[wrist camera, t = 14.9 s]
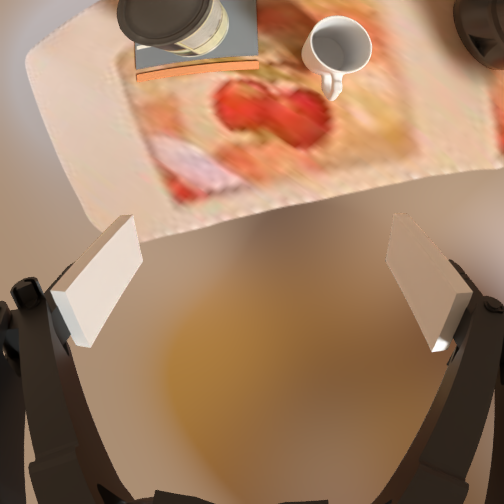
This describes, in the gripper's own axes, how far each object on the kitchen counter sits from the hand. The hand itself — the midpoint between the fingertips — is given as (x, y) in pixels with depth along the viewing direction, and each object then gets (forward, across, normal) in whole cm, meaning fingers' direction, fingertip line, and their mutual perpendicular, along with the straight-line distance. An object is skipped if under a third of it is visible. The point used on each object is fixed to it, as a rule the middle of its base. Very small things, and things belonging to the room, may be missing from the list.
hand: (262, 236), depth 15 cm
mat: (+32, -10, +18) cm, 38 cm away
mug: (+32, +8, +11) cm, 35 cm away
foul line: (+32, -10, +11) cm, 35 cm away
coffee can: (+31, -10, +18) cm, 38 cm away
